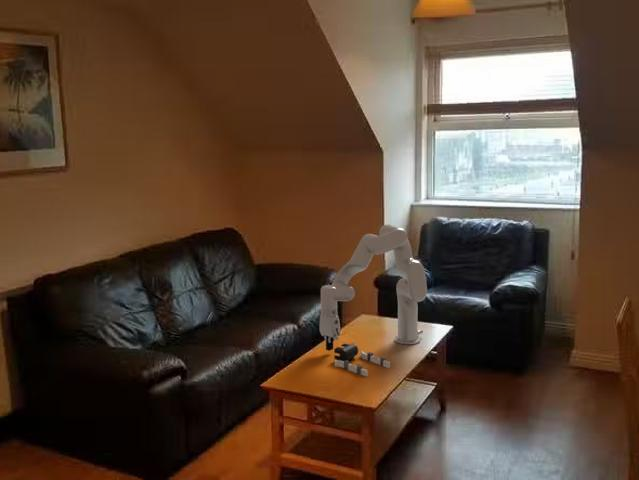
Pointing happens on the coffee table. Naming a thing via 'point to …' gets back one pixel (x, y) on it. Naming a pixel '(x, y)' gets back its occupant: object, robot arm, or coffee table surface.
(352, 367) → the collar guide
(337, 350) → the end cap
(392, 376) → the coffee table surface
